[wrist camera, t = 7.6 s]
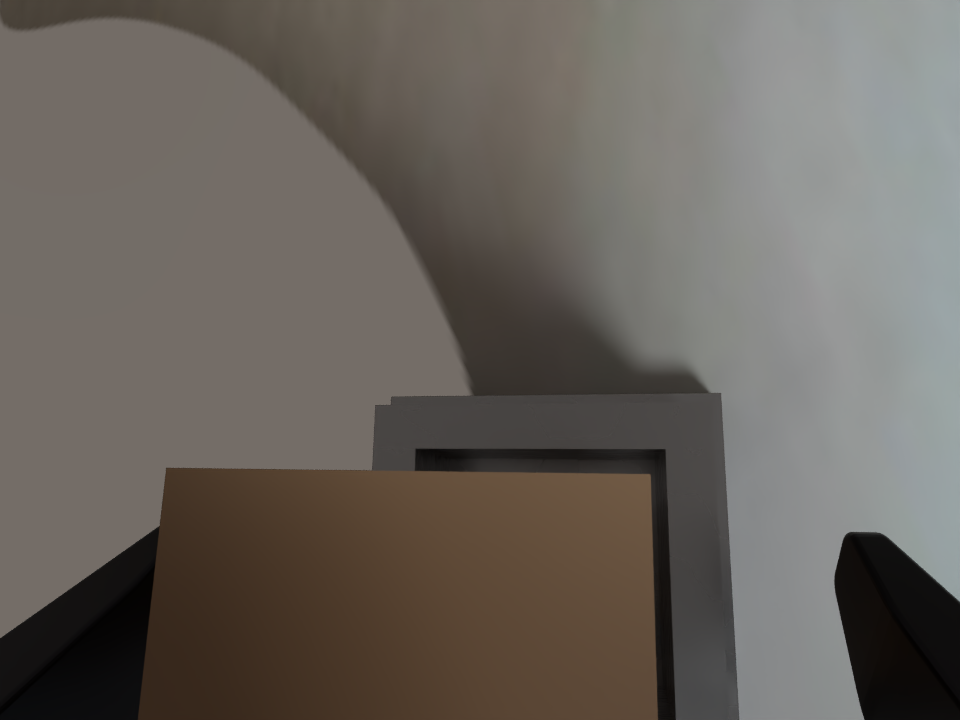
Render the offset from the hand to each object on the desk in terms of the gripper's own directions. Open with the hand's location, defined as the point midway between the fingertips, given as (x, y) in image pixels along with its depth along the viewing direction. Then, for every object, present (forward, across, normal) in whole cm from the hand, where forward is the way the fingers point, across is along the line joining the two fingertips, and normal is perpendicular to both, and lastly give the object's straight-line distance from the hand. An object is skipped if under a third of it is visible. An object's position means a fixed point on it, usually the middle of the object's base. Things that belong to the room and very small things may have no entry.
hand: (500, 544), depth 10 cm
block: (+6, 0, +7) cm, 9 cm away
